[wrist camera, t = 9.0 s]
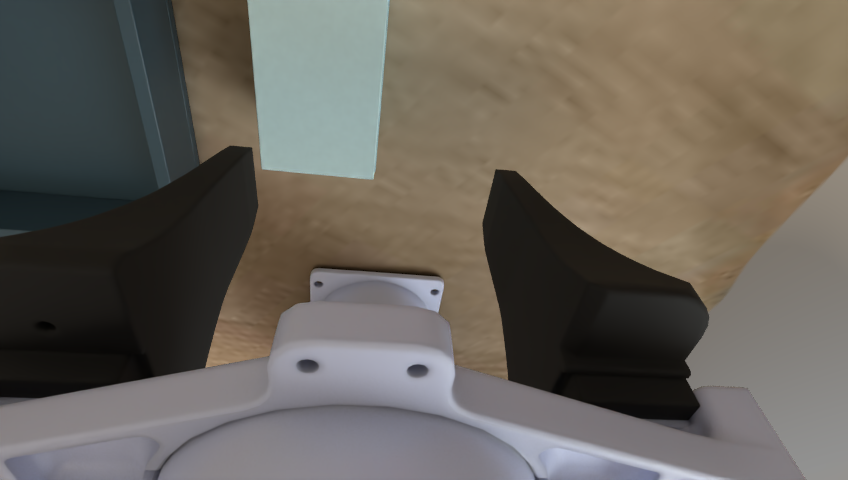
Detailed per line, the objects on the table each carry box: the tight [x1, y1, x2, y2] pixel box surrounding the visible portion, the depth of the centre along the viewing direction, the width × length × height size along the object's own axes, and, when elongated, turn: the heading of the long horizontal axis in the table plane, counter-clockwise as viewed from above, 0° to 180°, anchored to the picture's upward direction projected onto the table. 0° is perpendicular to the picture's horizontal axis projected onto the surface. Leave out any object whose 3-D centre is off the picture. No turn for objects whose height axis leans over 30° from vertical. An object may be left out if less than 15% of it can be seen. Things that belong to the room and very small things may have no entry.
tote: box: [0, 0, 200, 237], centre depth 20 cm, size 13×13×4 cm
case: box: [247, 0, 390, 180], centre depth 19 cm, size 8×5×4 cm, turn 172°
